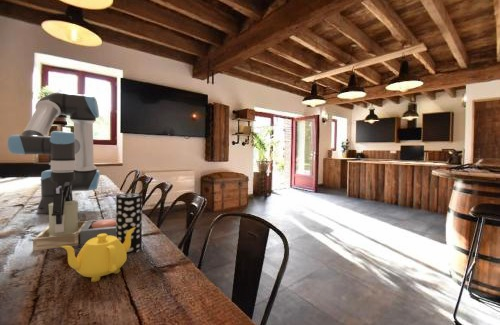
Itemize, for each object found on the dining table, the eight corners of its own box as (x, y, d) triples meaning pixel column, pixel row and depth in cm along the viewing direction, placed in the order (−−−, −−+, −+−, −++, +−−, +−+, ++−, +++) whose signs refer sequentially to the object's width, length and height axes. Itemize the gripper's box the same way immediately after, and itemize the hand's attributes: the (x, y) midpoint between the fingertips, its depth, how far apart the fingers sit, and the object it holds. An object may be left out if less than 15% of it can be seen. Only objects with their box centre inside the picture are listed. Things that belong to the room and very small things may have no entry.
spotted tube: (146, 247, 89) (147, 194, 87) (128, 256, 81) (129, 198, 80) (129, 243, 91) (129, 192, 90) (110, 252, 83) (110, 196, 82)
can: (62, 237, 88) (61, 205, 87) (42, 234, 90) (41, 203, 89) (84, 229, 97) (83, 200, 96) (65, 226, 99) (65, 198, 98)
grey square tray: (88, 231, 102) (88, 220, 101) (124, 228, 108) (124, 217, 107) (80, 244, 89) (80, 231, 89) (122, 239, 95) (122, 227, 95)
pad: (93, 226, 100) (93, 220, 100) (118, 224, 104) (118, 218, 104) (89, 233, 92) (89, 227, 92) (115, 231, 96) (115, 225, 96)
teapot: (72, 300, 57) (72, 254, 57) (52, 278, 66) (52, 238, 65) (149, 268, 74) (149, 232, 73) (125, 254, 82) (125, 222, 82)
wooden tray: (51, 232, 99) (51, 223, 99) (88, 229, 104) (88, 220, 104) (33, 250, 83) (32, 239, 82) (78, 245, 88) (77, 234, 88)
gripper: (60, 168, 100) (60, 220, 102) (39, 174, 80) (40, 239, 82) (81, 168, 103) (81, 219, 105) (66, 174, 84) (67, 236, 85)
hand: (63, 227), depth 93 cm, fingers open, 9 cm apart
